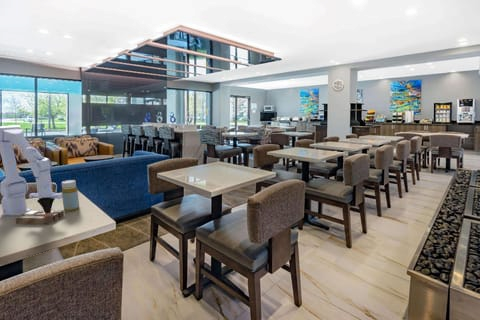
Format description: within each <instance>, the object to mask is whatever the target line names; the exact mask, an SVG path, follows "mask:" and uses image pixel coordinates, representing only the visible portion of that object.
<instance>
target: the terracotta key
mask: <svg viewBox="0 0 480 320" xmlns="http://www.w3.org/2000/svg"><path fill="white" fill-rule="evenodd" d="M54 213H55V211H51V212H50V213H45V212H44V213H42V214H41V216H51V215H53V214H54Z"/></svg>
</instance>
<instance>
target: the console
mask: <svg viewBox="0 0 480 320" xmlns="http://www.w3.org/2000/svg"><path fill="white" fill-rule="evenodd" d="M30 211H39V213H38V214H36V215H35V216H25V215H24V214H25V213H24V214H22V215H17V216H16V217H14V219H15V224H16V225H44V226H45V225H48V226H50V225H52V224H53V223H54V222H57V221H58V220H60V219H62V218H63V217H65V213H64V211H65V210H64V209H61V210H60V209H57V210H56V209H51V211H55V213H54V214H53V215H51V216H41V214H42V213H44V210H43V209H32V210H30ZM28 212H29V211H28Z"/></svg>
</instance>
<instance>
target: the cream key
mask: <svg viewBox="0 0 480 320" xmlns="http://www.w3.org/2000/svg"><path fill="white" fill-rule="evenodd" d="M38 213H39V211H29V212H26V213H25V214H24V215H25V216H35V215H36V214H38Z"/></svg>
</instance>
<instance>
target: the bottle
mask: <svg viewBox="0 0 480 320" xmlns="http://www.w3.org/2000/svg"><path fill="white" fill-rule="evenodd" d="M61 188H62V189H61V194H62V198H61V199H62V205H63V210H64V211H65V212H74V211H77V210H79V208H80V200H79V191H78V188H77V183H76V180H75V179H68V180H63V181H62V182H61Z"/></svg>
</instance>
